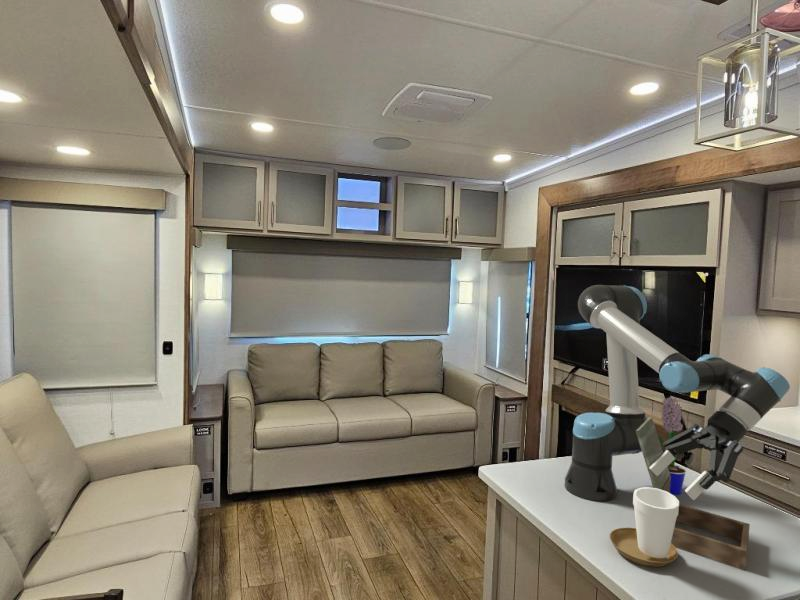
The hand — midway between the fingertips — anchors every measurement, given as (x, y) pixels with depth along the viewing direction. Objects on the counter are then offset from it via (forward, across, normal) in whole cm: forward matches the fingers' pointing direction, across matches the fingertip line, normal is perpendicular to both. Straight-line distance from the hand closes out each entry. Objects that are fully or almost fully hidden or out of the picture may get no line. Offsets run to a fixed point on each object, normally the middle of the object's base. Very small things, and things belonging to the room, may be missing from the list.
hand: (670, 483), depth 114 cm
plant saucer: (+17, +1, -9) cm, 19 cm away
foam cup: (+14, -2, -7) cm, 16 cm away
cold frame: (+4, +7, -20) cm, 22 cm away
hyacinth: (-6, +33, -30) cm, 45 cm away
